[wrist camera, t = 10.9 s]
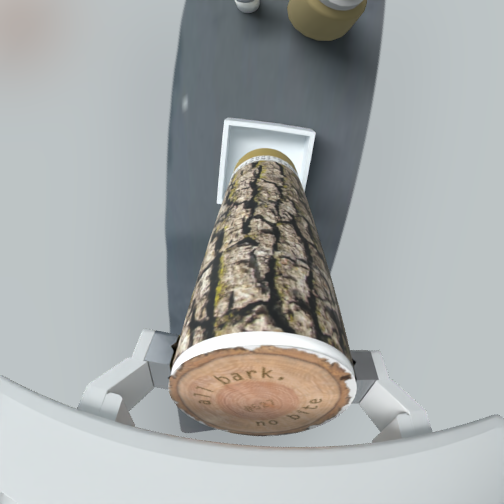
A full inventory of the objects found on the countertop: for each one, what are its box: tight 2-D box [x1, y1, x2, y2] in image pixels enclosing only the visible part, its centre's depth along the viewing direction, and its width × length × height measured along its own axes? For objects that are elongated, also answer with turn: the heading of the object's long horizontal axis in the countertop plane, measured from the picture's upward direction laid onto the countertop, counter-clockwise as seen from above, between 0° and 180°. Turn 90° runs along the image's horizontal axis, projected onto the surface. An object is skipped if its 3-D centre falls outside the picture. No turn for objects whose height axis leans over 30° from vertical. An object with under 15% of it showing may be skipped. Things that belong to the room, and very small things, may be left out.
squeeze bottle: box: [287, 0, 367, 41], centre depth 21 cm, size 8×8×18 cm
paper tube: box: [168, 148, 357, 436], centre depth 20 cm, size 7×7×25 cm
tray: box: [217, 118, 315, 204], centre depth 38 cm, size 11×11×4 cm
